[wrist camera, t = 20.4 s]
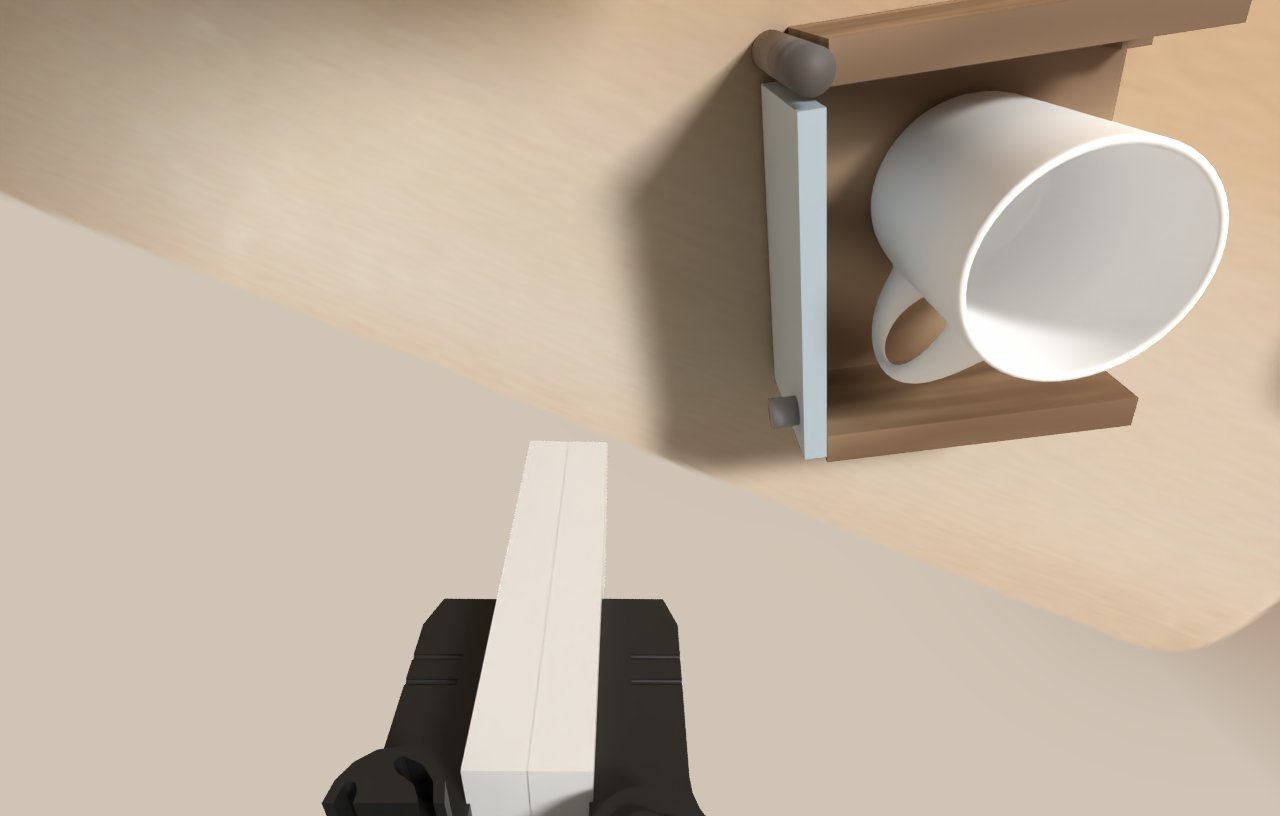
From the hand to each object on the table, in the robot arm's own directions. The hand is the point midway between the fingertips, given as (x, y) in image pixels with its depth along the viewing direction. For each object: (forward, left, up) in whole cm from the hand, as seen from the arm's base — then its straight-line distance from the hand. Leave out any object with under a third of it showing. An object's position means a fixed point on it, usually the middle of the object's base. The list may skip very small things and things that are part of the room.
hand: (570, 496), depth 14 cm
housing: (+3, +16, -22) cm, 28 cm away
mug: (+3, +15, -22) cm, 27 cm away
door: (+3, +8, -22) cm, 24 cm away
